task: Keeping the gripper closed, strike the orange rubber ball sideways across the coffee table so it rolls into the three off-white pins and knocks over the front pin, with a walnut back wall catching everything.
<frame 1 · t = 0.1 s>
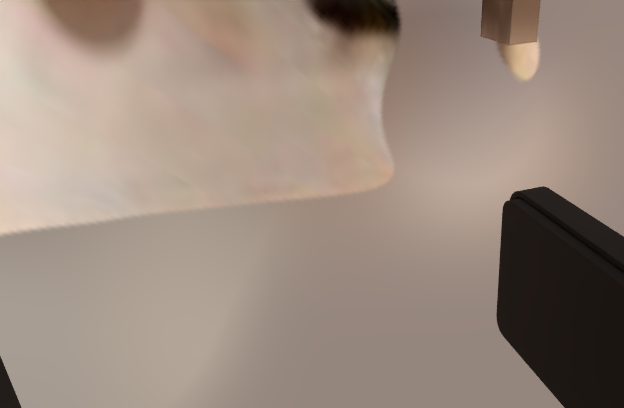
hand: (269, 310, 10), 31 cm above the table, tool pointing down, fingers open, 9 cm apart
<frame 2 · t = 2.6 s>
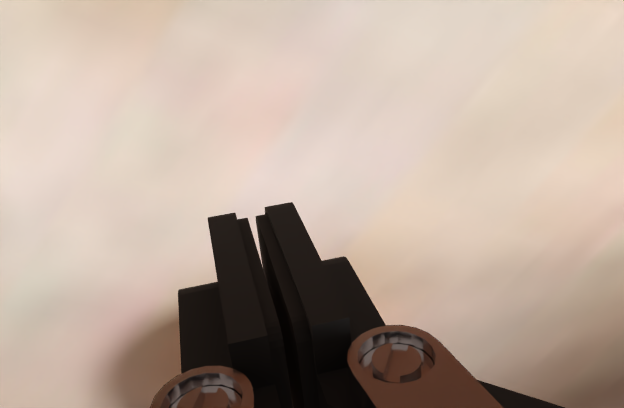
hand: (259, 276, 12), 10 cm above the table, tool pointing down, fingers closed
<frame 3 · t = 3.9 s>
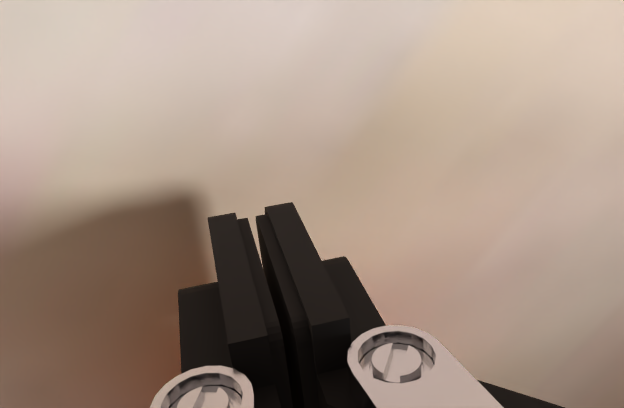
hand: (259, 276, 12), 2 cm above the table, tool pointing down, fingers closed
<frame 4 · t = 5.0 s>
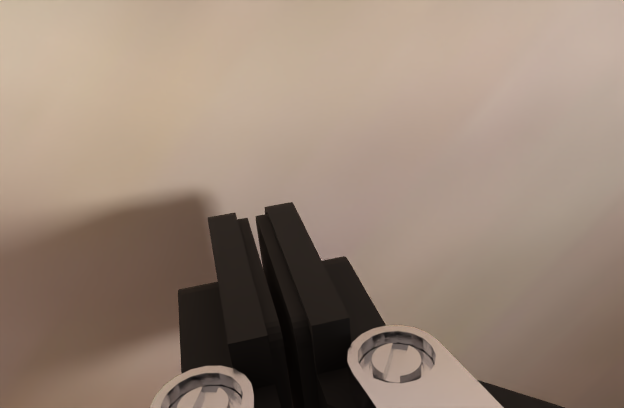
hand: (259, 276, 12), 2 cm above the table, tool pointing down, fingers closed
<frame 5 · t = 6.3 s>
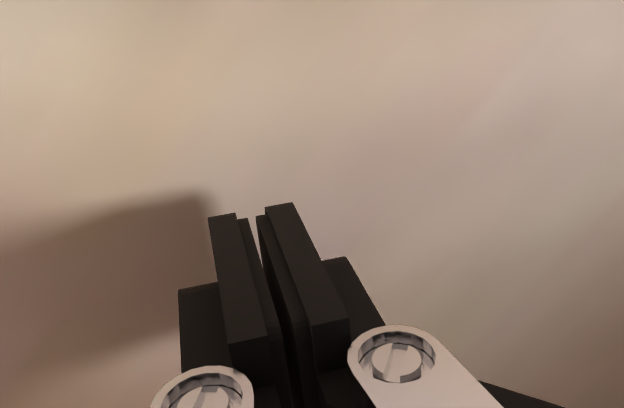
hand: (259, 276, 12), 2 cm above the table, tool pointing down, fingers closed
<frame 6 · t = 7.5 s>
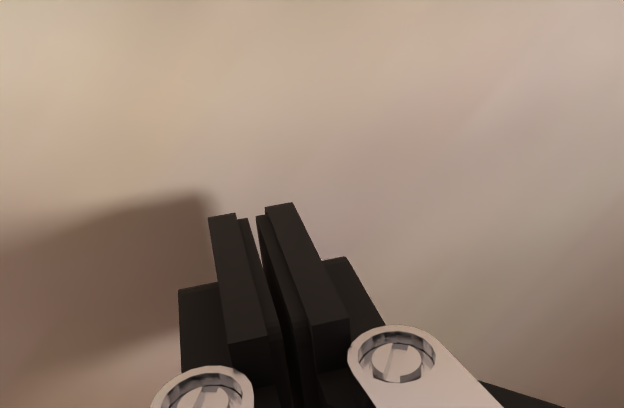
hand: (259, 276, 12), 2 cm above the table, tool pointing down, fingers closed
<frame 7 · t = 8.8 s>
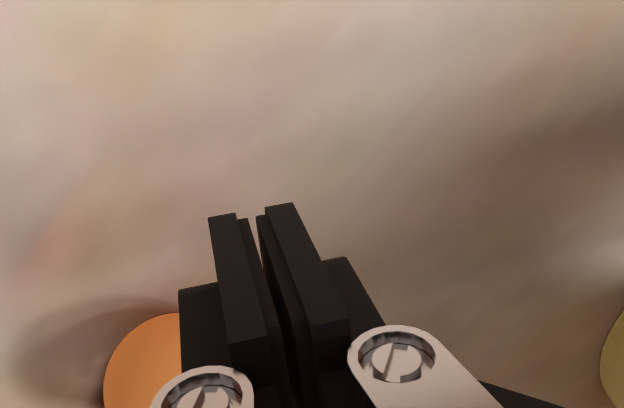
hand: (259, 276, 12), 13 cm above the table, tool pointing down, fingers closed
ball: (177, 383, 25), on the table
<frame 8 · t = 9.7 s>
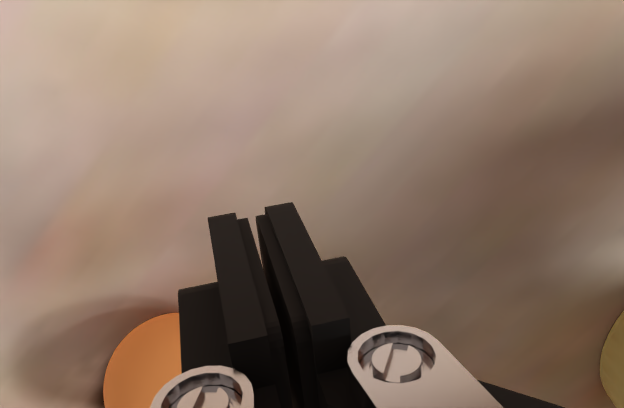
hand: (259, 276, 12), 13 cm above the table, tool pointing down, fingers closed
ball: (177, 383, 25), on the table
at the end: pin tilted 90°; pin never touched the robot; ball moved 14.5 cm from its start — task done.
